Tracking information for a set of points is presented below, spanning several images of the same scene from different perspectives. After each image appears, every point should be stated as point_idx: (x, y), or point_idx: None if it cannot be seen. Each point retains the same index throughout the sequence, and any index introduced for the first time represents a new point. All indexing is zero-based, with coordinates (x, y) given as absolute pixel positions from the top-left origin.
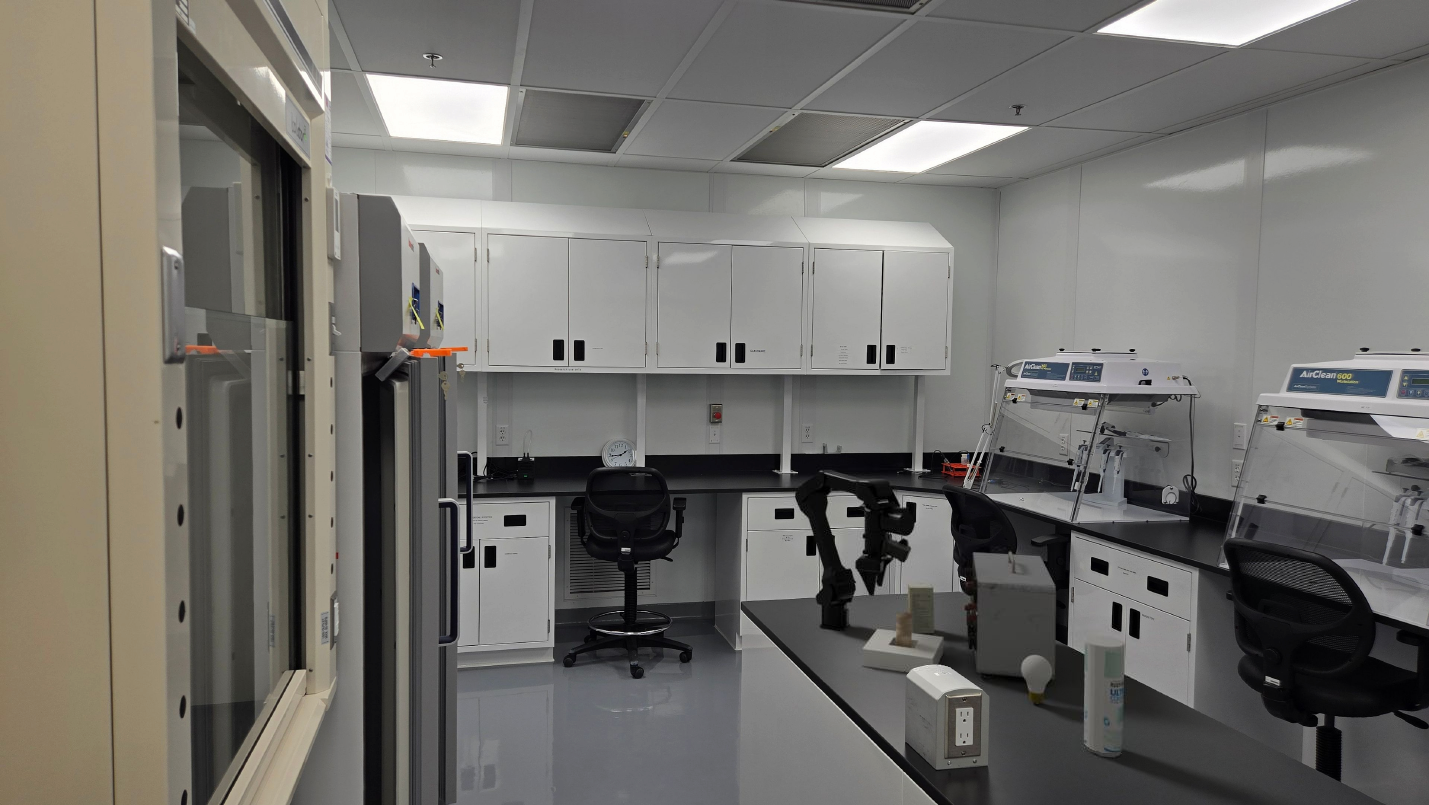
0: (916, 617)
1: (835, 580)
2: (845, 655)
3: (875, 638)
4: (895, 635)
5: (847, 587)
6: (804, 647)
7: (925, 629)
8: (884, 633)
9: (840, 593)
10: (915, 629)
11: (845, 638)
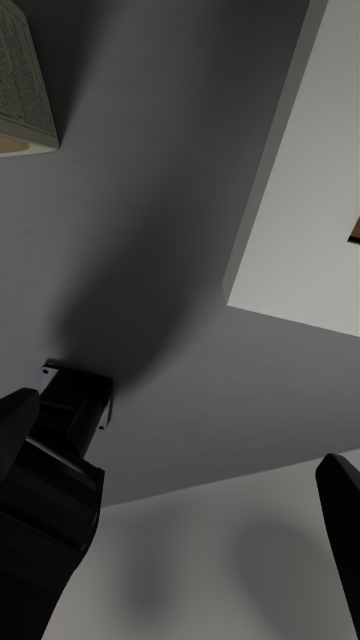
0: (8, 97)
1: (58, 597)
2: (324, 373)
3: (355, 317)
4: (321, 232)
5: (29, 504)
6: (261, 452)
7: (31, 61)
8: (290, 280)
9: (82, 503)
10: (46, 121)
11: (177, 371)
